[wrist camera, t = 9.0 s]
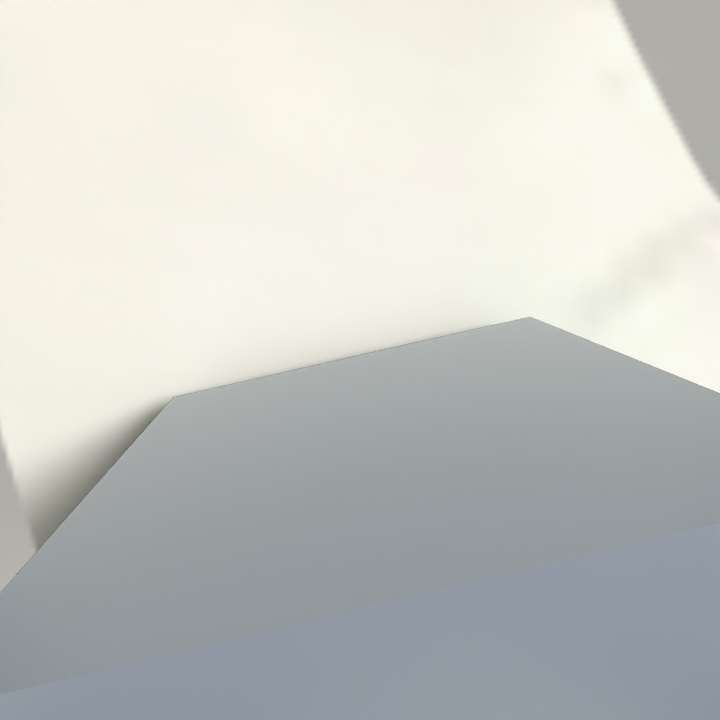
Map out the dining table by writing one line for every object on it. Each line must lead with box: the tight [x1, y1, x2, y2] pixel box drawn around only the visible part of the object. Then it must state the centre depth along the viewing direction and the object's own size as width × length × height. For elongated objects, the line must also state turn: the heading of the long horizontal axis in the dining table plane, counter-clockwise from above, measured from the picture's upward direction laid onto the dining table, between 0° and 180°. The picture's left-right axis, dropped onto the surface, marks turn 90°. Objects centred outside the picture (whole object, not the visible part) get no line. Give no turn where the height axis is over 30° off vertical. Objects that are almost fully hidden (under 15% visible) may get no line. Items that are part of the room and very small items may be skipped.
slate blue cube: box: [0, 317, 720, 720], centre depth 10 cm, size 10×10×9 cm
